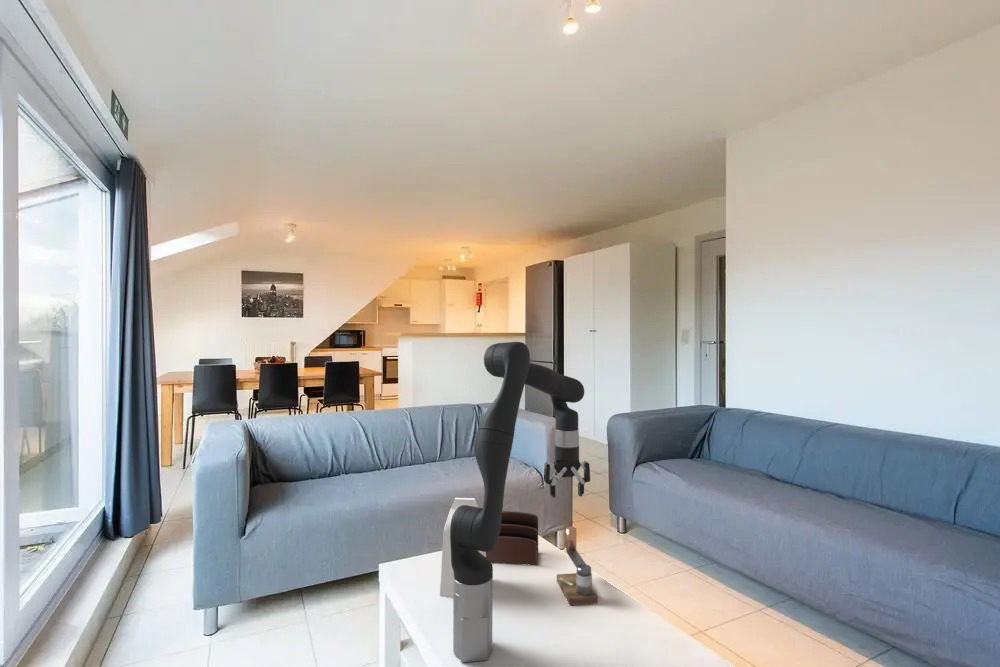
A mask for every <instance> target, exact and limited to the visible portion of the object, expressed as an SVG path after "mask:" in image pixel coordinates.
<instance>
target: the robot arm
mask: <svg viewBox="0 0 1000 667" xmlns="http://www.w3.org/2000/svg"><path fill="white" fill-rule="evenodd" d="M483 354H484V355H483V364H484V365H483V366H484V367H485V369H486V371H487V373H489V374H490V375H491V376H493V377H496V378H503V380H502V383H501V384H502V385H501V388H500V391H499V392H498V395H497V396H496V397H495V399H494V400H493V402H492V403H491V404H490V406H489V407H488V408H487V410H486V411H485V413H484V414H483V416H482V418H481V419H480V421H479V422H478V423H479V424H478V427H477V432H476V436H475V441H474V442H475V443H474V446H473V448H474V450H473V451H474V456H475V459H476V463H477V465H478V469H479V472H480V475H481V478H482V482H483V487H484V488H483V489H484V496H483V505H482V507H479V506H478V507H474V506H468V505H462V506H460V507H458V508H457V509H456V510H455V512H454V514H453V516H452V520H451V525H450V546H451V565H452V568H453V571H454V597H453V609H452V610H453V612H452V613H453V617H452V618H453V620H452V621H453V626H452V628H453V629H452V633H453V634H452V635H453V636H452V638H453V640H452V641H453V642H452V643H453V648H452V650H453V653H454V655H455V656H456V657H457V658H458V659H459V660H460V662H461V663H468V662H469V663H470V662H482V661H488V660H489V656H490V655H491V654H492V652H493V607H494V606H493V604H494V603H493V595H494V594H493V589H494V588H493V586H494V585H493V579H494V578H493V576H494V575H493V574H494V572H493V571H494V568H493V563H491V562H490V561H489V560H488V559H487V558H486V557H485V556H483V555H482V554H481V553H480V552H479V551H483V552H490V551H491V550H493V549H494V547H495V545H496V543H497V541H498V538H499V533H500V528H501V520H502V511H503V510H504V509H503V507H504V497H505V487H506V482H507V481H506V480H507V475H508V468H509V465H510V464H509V463H510V459H511V453H512V449H513V444H514V443H513V442H514V438H515V437H514V436H515V431H516V424H517V420H518V419H517V418H518V414H519V407H520V403H521V399H522V394H523V391H524V387H525V385H527V386H529V387H532V388H534V389H535V390H537V391H540V392H542V393H544V394H546V395H549V396H550V400H551V403H552V407H553V411H554V416H555V431H554V432H555V433H554V441H553V442H554V462H553V463H549V462H547V461H546V462H545V463H544V464H543V465H544V466H543V467H544V469H543V482H544V483H545V484H546V485H549V494H550V496H551V497H552V498H553V499H554V498H556V484H557V482H558V481H559V480H561V478H573V477H575V478H576V479H577V481H578V482H577V495H578V496H579V497H583V495H584V494H585V484H587V483H590V482H591V470H590V463H589V462H588V461H587V460H584V461H582V462H580V433H579V432H580V431H579V413H578V411H576V410H574V409H573V408H570V407H569V406H568V403H572V404H573V403H575V404H576V403H579V402H580V401H581V400H582V399H583V398H584V396H585V387H584V385H583V383H582V382H581V381H580V380H579V379H576V378H575V377H570V376H567V375H563V374H561V373H559V372H557V371H555V370H553V369H552V368H550V367H547V366H544V365H541V364H536V363H532V362H531V356H530V355H531V353H530V350H529V348H528V346H527V344H526V343H524V342H521V341H509V342H499V343H494V344H492V345H489V346H488V347H487V348H486V350H485V352H484V353H483ZM553 468H554V469H555V471H554V472H553V474H552V476H551V477H550V475H551V471H552V470H553ZM580 468H582V469H583V477H582V476H581V475H580V473H579V472H578V471H579V470H580ZM478 550H479V551H478Z"/></svg>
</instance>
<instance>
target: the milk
mask: <svg viewBox="0 0 1000 667" xmlns="http://www.w3.org/2000/svg"><path fill="white" fill-rule="evenodd" d="M462 505H468V506H474V507H479V505H478V503H477V500H476V498H474V497H454V500H453V501H452V504H451V506H450V509H449V513H448V515H447V518H446V521H445V525H444V527H443V532H442V533H443V534H442V551H441V567H440V568H441V570H440V584H439V585H440V587H439V597H447V596H453V597H452V598H454V571H453V568H452V565H451V546H450V525H451V520H452V516H453V514H454V512H455V510H456V509H457V508H458V507H460V506H462ZM478 551H479V550H478ZM479 552H480V553H481V554H482V555H483V556H485V557H486V552H483V551H479Z"/></svg>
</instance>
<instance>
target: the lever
mask: <svg viewBox="0 0 1000 667" xmlns="http://www.w3.org/2000/svg"><path fill="white" fill-rule="evenodd" d="M565 549H566V553H567V555H568V557H569V559H570V560H571V561H572V564H573V565H574V566H575V568H576V572H577V574H579V575H581V576H589V575H591V573H592V566H591V565H589V564H587V563H586V561H584V559H583V558H582V556H581V555H580V553H579V552H578V550H577V527H573V526H566V527H565Z"/></svg>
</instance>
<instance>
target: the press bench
mask: <svg viewBox="0 0 1000 667" xmlns="http://www.w3.org/2000/svg"><path fill="white" fill-rule="evenodd" d="M592 581H593V573H592V572H591V575H589V576H581V575H579V574H577V571H576V573H575V572H574V573H573V572H572V573H558V574H556V582H557V585H558V586H559V588H560V590H561V592H562V594H563V595H564V598H565V600H566V599H567V600H566V602H567V601H568V602H567V604H568V605H569V606H581V605H582V606H583V604H584V605H594V603H598V602H599V601H598V597H599V596H598V595H597V593H596V592H595V590H594V588H593V584H592V583H593V582H592Z"/></svg>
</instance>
